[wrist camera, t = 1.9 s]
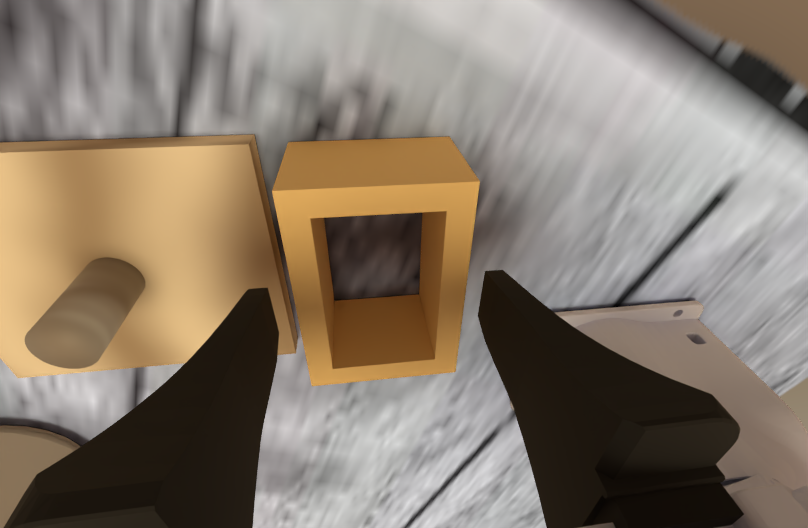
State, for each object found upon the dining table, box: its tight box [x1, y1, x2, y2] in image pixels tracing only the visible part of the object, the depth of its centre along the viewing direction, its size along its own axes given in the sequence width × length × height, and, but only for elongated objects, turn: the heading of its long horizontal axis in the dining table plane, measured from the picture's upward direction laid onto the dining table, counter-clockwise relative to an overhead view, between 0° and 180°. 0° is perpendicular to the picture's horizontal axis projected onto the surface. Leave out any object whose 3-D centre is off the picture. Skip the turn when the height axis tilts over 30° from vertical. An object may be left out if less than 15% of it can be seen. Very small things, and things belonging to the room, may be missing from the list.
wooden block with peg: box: [0, 135, 298, 378], centre depth 14 cm, size 12×10×4 cm
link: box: [272, 137, 480, 386], centre depth 15 cm, size 6×8×4 cm
